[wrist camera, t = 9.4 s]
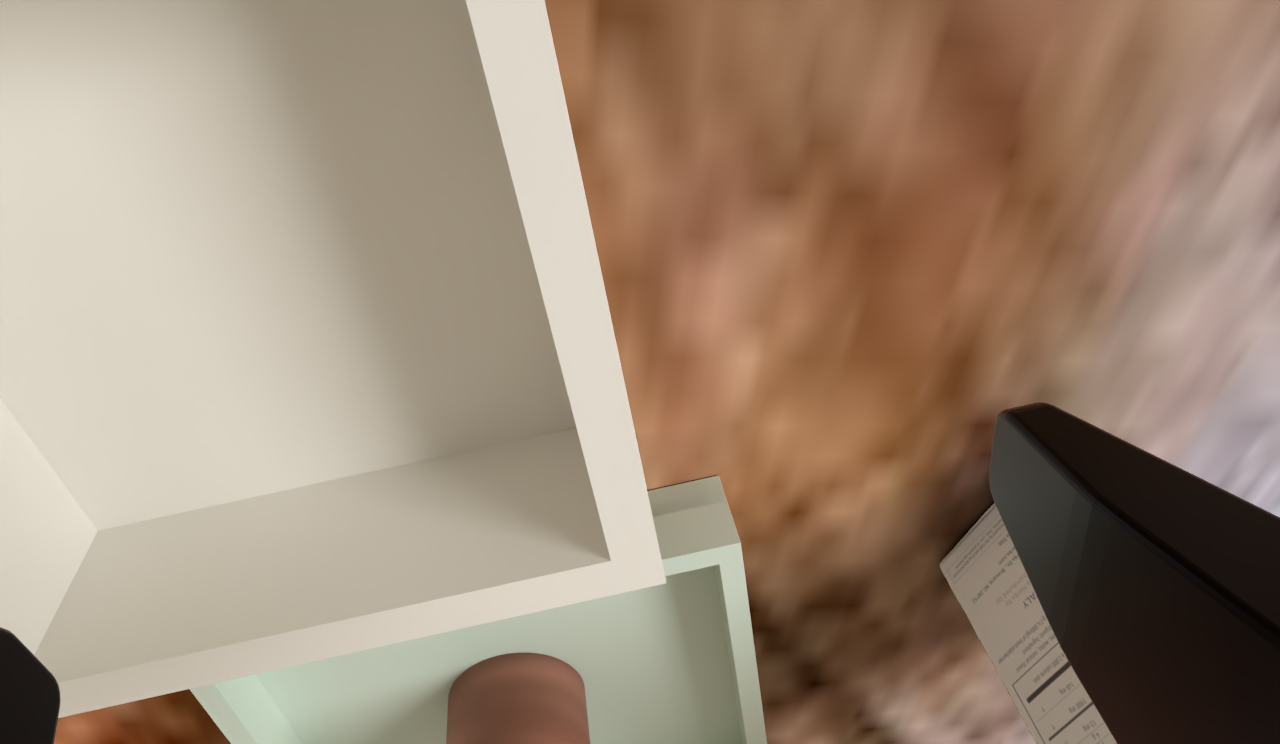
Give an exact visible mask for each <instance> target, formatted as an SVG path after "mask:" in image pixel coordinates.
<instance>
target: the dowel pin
mask: <svg viewBox="0 0 1280 744" xmlns="http://www.w3.org/2000/svg"><path fill="white" fill-rule="evenodd" d="M446 744H590V736H589V726H588V716H587V706H586V696H585V687H584V682H583V680H582V678H581V676H580V674H579V673H578V672H577V671H576V670H575V669H574V668H573V667H572V666H570V665H569V664H568V663H566V662H564V661H562V660H560V659H557V658H555V657H552V656H548V655H544V654H538V653H510V654H504V655H499V656H495V657H491V658H489V659H486V660H483V661H481V662H479V663H477V664H475V665H473V666H471V667H470V668H468V669H467V670H466V671H464V672H463V673H462V674H461V675H460V676H459V677H458V678H457V679H456V680H455V682H454V683H453V685H452V687H451V689H450V691H449V695H448V713H447V734H446Z"/></svg>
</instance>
